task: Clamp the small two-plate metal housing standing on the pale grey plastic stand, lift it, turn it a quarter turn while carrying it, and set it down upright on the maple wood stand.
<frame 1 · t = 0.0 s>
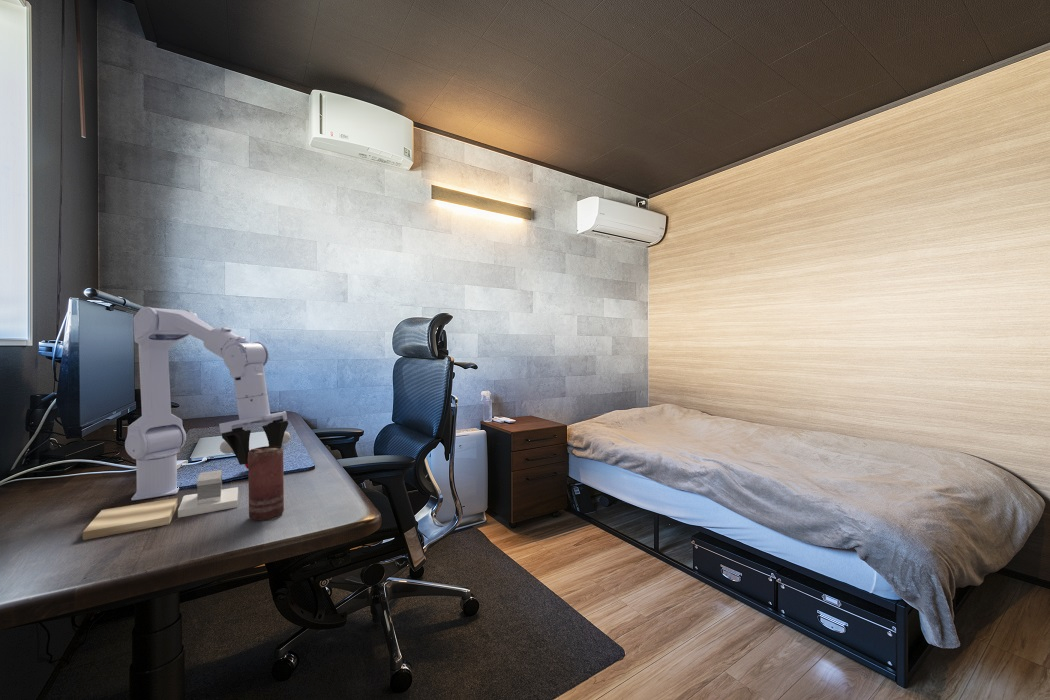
hand: (261, 459, 90), 11 cm above the table, tool pointing down, fingers open, 7 cm apart
stand a: (210, 504, 92), on the table
stand b: (135, 520, 84), on the table
can: (265, 516, 86), on the table
molecular model: (256, 471, 117), on the table
housing: (210, 497, 92), point 1 cm above the table, touching stand a
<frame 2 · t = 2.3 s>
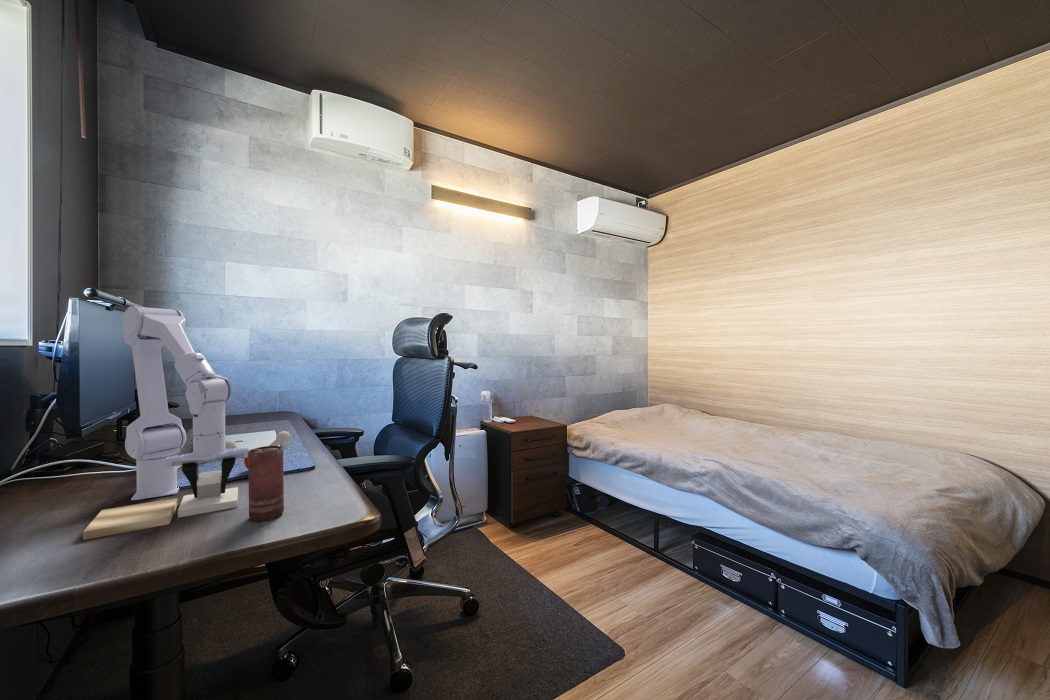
hand: (210, 494, 92), 2 cm above the table, tool pointing down, fingers closed on housing, 4 cm apart
housing: (210, 497, 92), point 1 cm above the table, touching gripper, stand a
everything else where it was.
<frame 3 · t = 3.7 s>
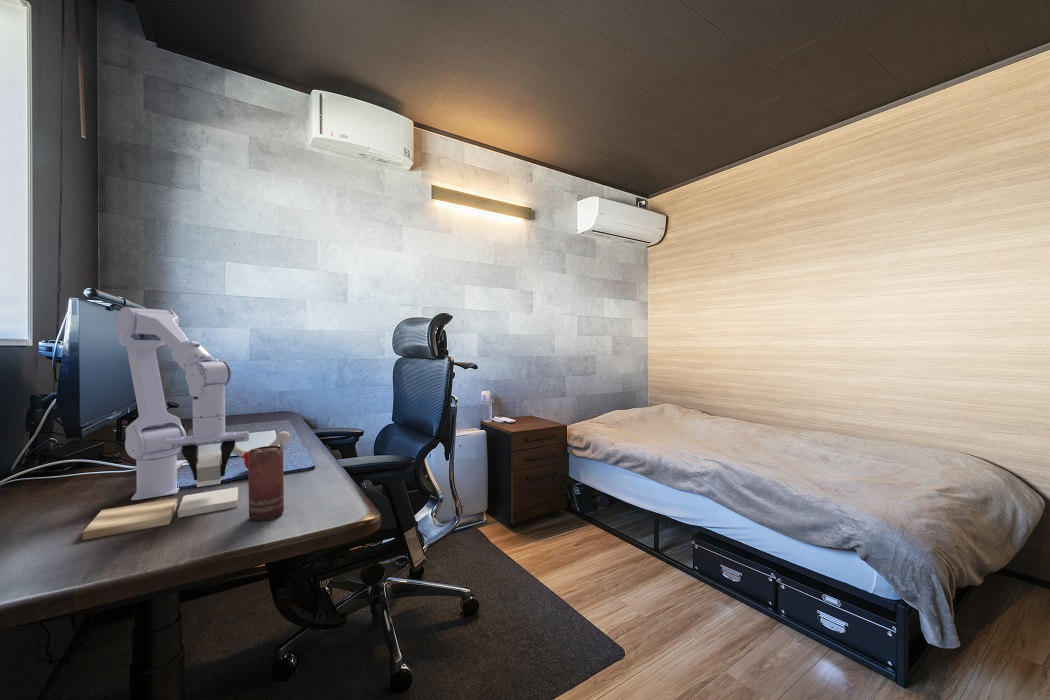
hand: (209, 477, 92), 6 cm above the table, tool pointing down, fingers closed on housing, 4 cm apart
housing: (209, 480, 92), point 5 cm above the table, touching gripper
everything else where it was.
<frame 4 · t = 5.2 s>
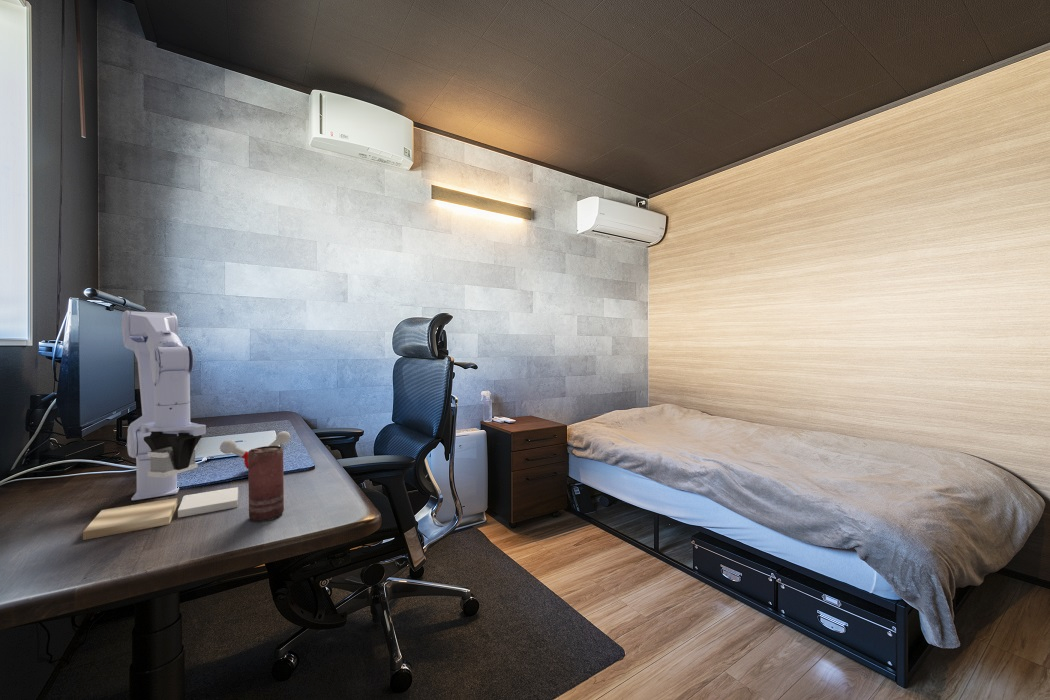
hand: (173, 467, 88), 9 cm above the table, tool pointing down, fingers closed on housing, 4 cm apart
housing: (173, 471, 88), point 9 cm above the table, touching gripper
everything else where it was.
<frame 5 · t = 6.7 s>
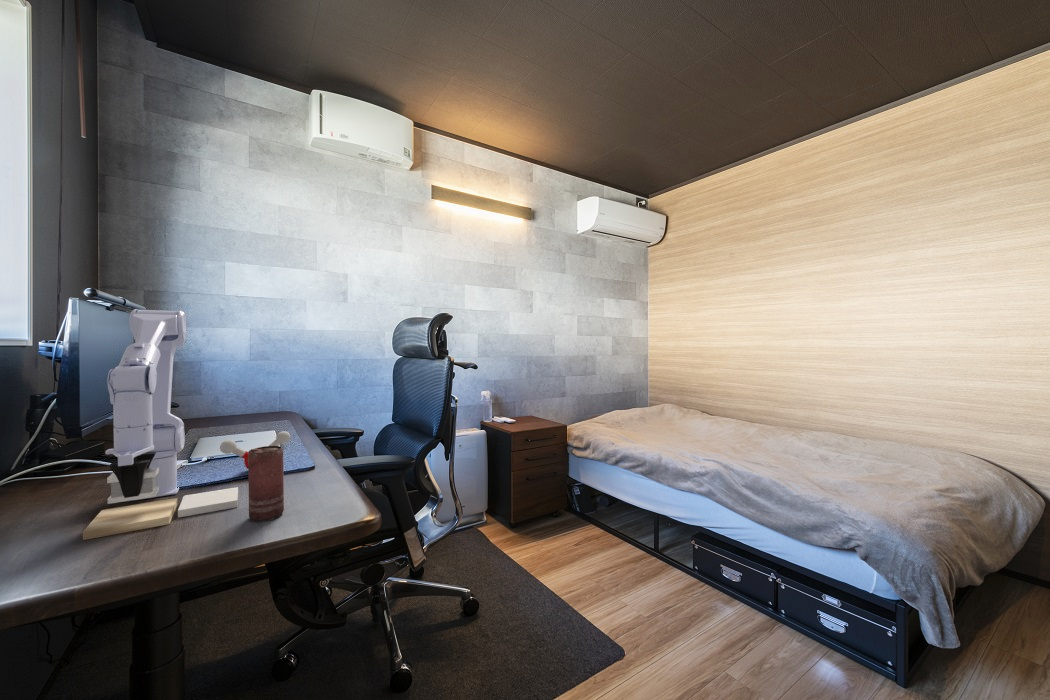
hand: (134, 493, 84), 6 cm above the table, tool pointing down, fingers closed on housing, 4 cm apart
housing: (134, 497, 84), point 5 cm above the table, touching gripper
everything else where it was.
when the fingers open (3 cm above the table, at t = 8.0 s): housing stays where it is, resting on stand b.
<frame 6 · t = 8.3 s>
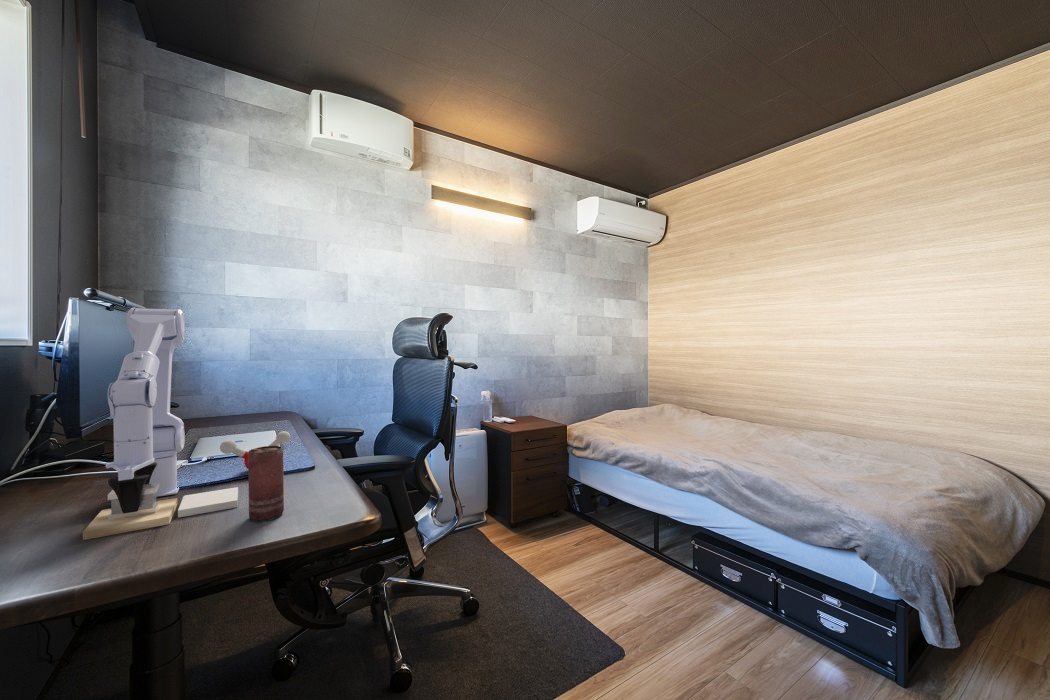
hand: (134, 506, 84), 3 cm above the table, tool pointing down, fingers open, 6 cm apart
housing: (134, 513, 84), point 1 cm above the table, touching stand b
everything else where it was.
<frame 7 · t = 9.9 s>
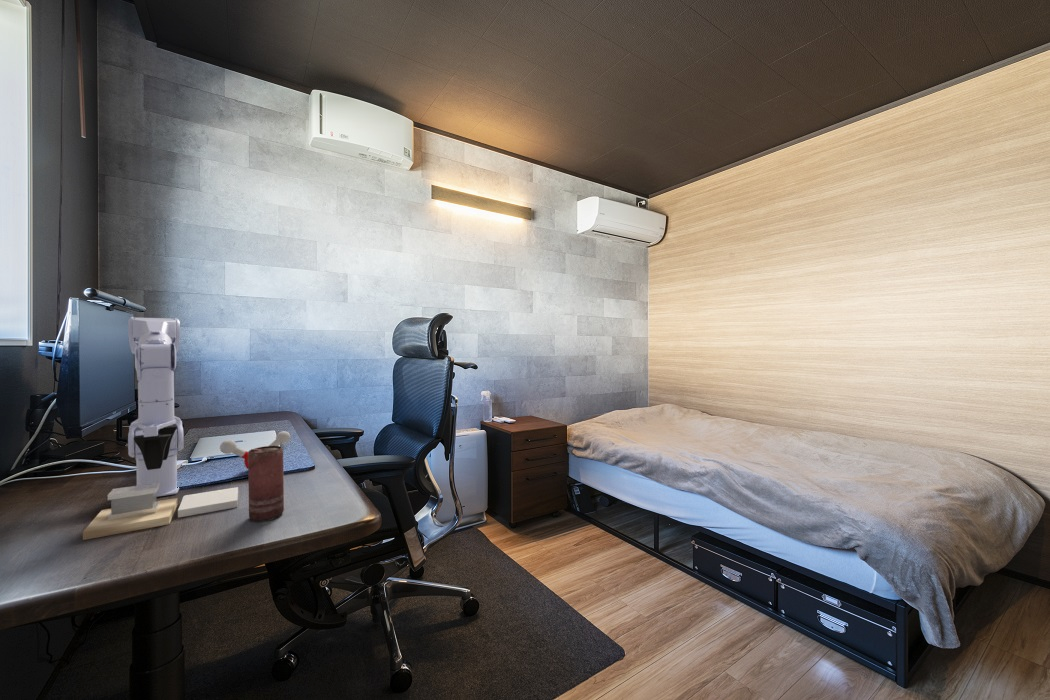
hand: (157, 464, 89), 10 cm above the table, tool pointing down, fingers open, 7 cm apart
nothing on the table moved.
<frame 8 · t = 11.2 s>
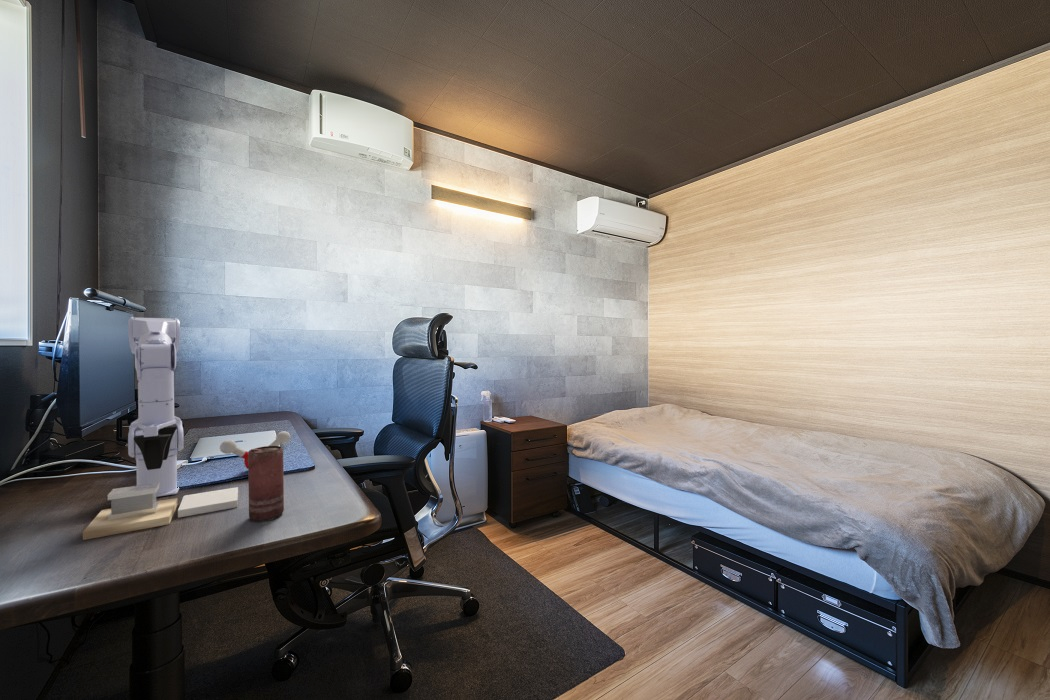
hand: (157, 464, 89), 10 cm above the table, tool pointing down, fingers open, 7 cm apart
nothing on the table moved.
at the end: housing inside the target area on the stand b (0.0 cm from its centre), point 1.5 cm above the stand b's base; housing tilted 0°; the gripper is holding nothing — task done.
